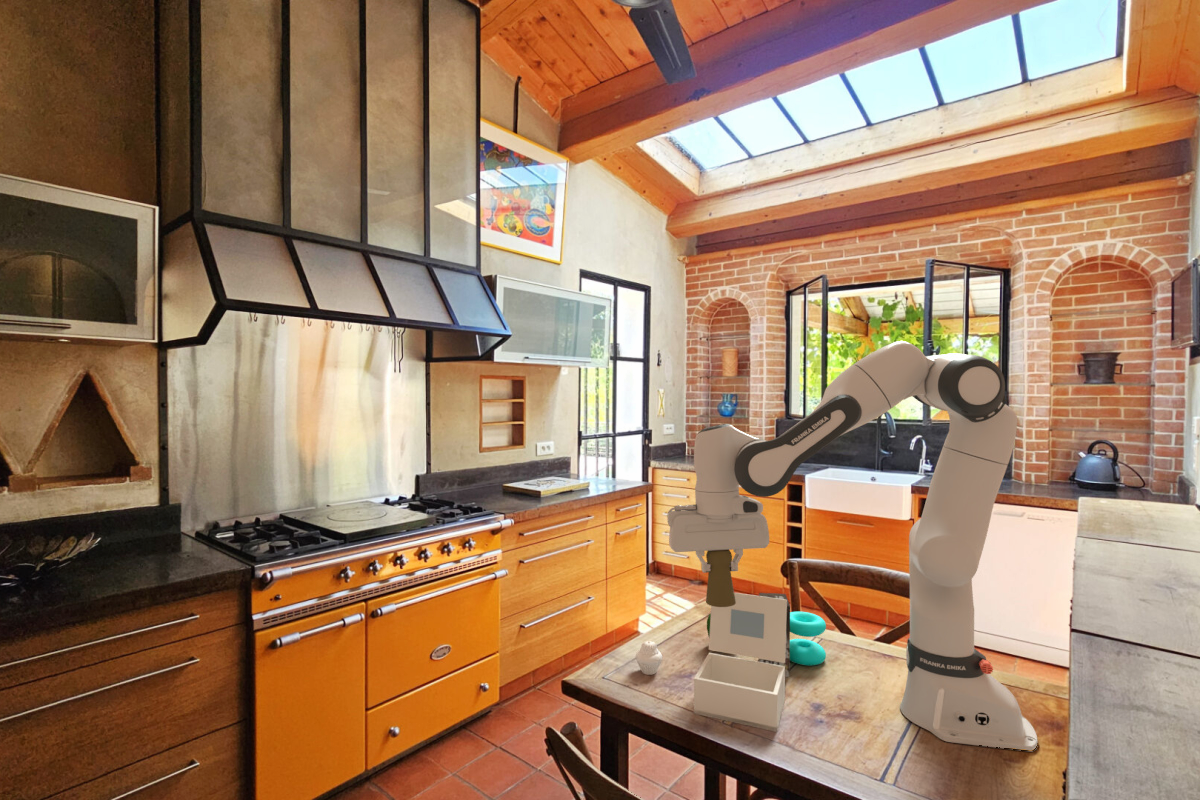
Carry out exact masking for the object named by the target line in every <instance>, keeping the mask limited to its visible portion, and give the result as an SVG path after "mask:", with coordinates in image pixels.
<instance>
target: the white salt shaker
mask: <svg viewBox="0 0 1200 800" xmlns="http://www.w3.org/2000/svg"><path fill="white" fill-rule="evenodd" d="M635 659H636V662H637V665H638V667H639V669H640V671H641V673H642V674H644V675H647V676H650V675H651V676H652V675H655V674H656V673H657V671H658V669H659V667H660V665H662V661H663V654H662V653H661V651H660V650H659V649H658V647H657V644H656V643H655V642H654V641H647V640H646V641H643V643H642V644H641V647H640V649H639V650H637V651H636V653H635Z"/></svg>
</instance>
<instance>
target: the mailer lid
mask: <svg viewBox="0 0 1200 800" xmlns="http://www.w3.org/2000/svg"><path fill="white" fill-rule="evenodd" d="M734 595H735V601H736V604H735V605H733V606H729V607H714V606H711V605H710V614H711V618H710V636H708V640H709V641H708V650H709V651H714V652H719V653H725V654H730V655H737V656H743V657H748V658H753V659H764V660H770V661H775V662H781V663H785V651H786V618H787V600H785V599H778V598H770V597H763V596H759V595H755V594H747V593H740V592H734Z"/></svg>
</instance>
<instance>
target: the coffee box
mask: <svg viewBox="0 0 1200 800" xmlns="http://www.w3.org/2000/svg"><path fill="white" fill-rule="evenodd" d="M758 596H763V597H770V598H778V599H785V600H787V618H786V651H785V663H781V662H775V661H770V660H764V659H759V662H764V663H769V664H775V665H780V666H785V678H789V677H790V662H791V661H790V640H791V637H790V636H791V632H790V612H791V604H790V602H789V599H788V596H787V594H786V593H778V592H777V593H775V592H774V593H773V592H768V593H767V592H759V594H758Z"/></svg>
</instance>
